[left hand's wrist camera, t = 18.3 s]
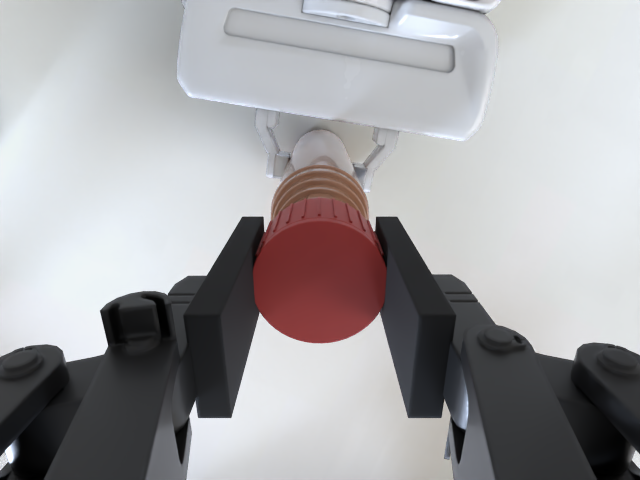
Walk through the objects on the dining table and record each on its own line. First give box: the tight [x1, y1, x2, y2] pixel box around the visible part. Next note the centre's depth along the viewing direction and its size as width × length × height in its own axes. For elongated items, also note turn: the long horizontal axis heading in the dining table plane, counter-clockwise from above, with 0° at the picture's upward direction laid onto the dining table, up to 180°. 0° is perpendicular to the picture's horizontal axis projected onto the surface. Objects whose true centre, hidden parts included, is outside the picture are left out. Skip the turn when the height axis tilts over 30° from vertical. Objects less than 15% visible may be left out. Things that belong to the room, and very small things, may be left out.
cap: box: [253, 197, 387, 343], centre depth 13 cm, size 4×4×3 cm
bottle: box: [271, 129, 369, 221], centre depth 23 cm, size 5×5×24 cm
